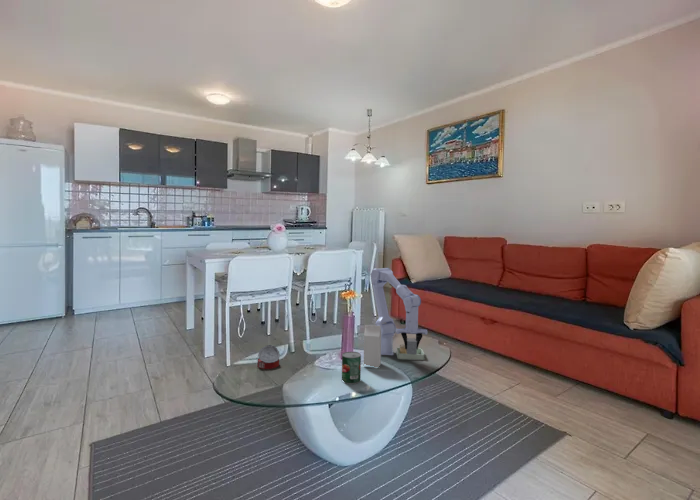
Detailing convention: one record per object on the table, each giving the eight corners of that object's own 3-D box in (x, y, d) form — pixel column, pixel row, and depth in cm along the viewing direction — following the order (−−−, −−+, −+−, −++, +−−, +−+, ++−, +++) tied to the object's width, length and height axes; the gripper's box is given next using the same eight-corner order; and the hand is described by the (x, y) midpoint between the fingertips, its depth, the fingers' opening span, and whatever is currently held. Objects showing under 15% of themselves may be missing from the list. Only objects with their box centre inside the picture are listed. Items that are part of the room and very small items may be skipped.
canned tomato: (337, 380, 153) (338, 354, 152) (350, 375, 158) (350, 350, 158) (351, 385, 147) (352, 358, 147) (364, 380, 153) (364, 354, 153)
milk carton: (379, 369, 166) (379, 327, 165) (363, 368, 168) (364, 326, 167) (380, 364, 173) (381, 324, 172) (365, 363, 174) (366, 323, 174)
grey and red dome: (278, 372, 173) (288, 354, 172) (267, 378, 164) (277, 359, 163) (260, 359, 177) (270, 341, 176) (248, 363, 167) (258, 344, 166)
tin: (406, 354, 172) (407, 340, 172) (405, 351, 177) (406, 338, 177) (416, 354, 172) (417, 341, 172) (415, 351, 177) (415, 338, 177)
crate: (397, 359, 180) (397, 353, 180) (396, 353, 190) (396, 347, 190) (424, 360, 179) (424, 354, 179) (421, 354, 189) (421, 348, 189)
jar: (400, 357, 183) (400, 346, 182) (399, 354, 186) (399, 344, 186) (407, 357, 182) (407, 346, 182) (406, 354, 186) (407, 344, 186)
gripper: (397, 321, 171) (396, 350, 171) (428, 322, 170) (427, 351, 170) (396, 318, 178) (395, 346, 178) (426, 319, 177) (425, 347, 177)
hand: (411, 348), depth 175 cm, fingers closed on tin, 4 cm apart
